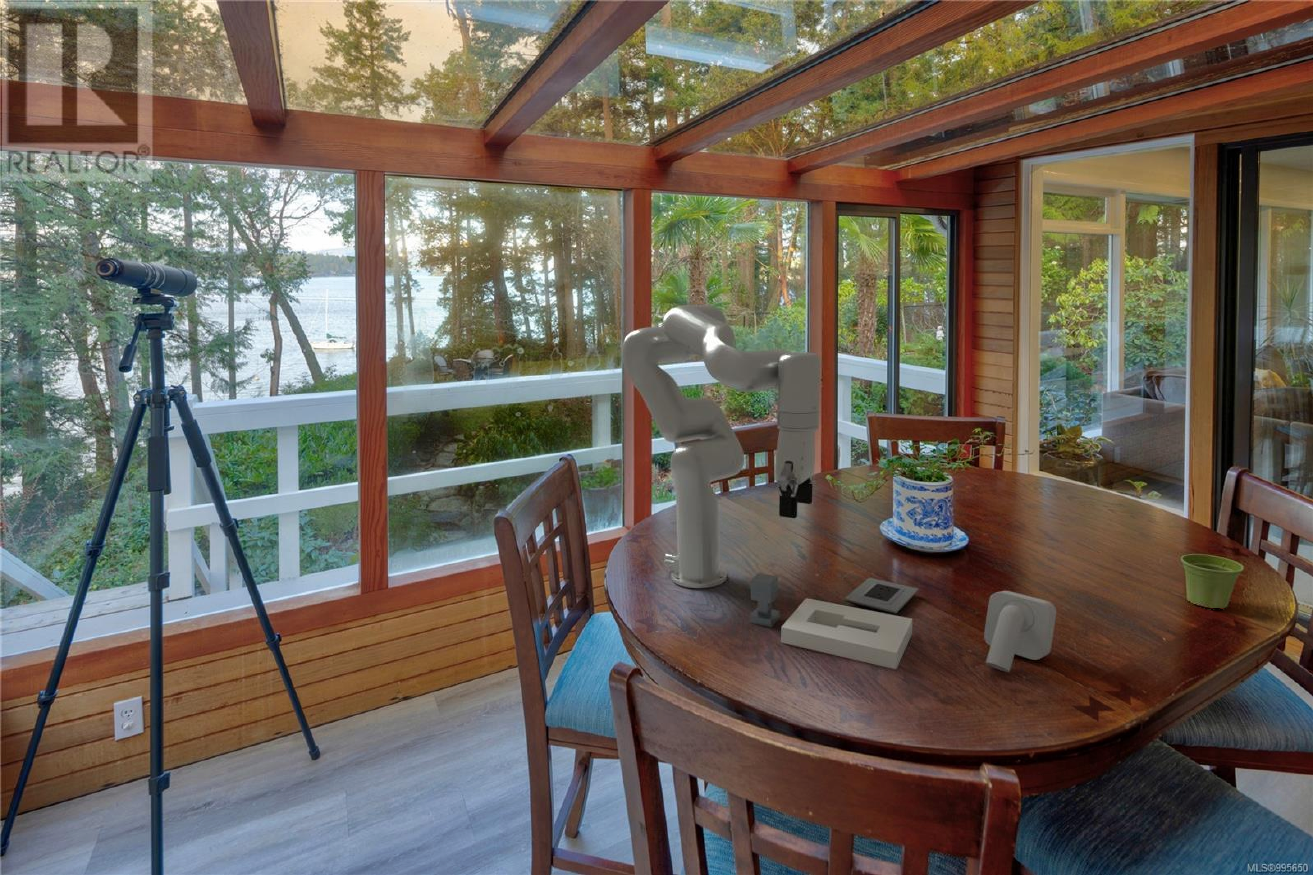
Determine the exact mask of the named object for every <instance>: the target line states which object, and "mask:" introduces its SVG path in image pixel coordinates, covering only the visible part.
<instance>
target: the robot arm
mask: <svg viewBox="0 0 1313 875" xmlns="http://www.w3.org/2000/svg"><path fill="white" fill-rule="evenodd" d="M661 323H662V326H651V327H650V326H649V327H643V328H642V327H641V328H637V329H636V330H635V329H634V330H632V331H630V333H628V334H627V335H626V337H625V338H624V340H623V343H622V346H621V347H622V348H621V354H622V355H621V357H622V363H623V366H624V370H625V372H626V374H627V376H628V378H629V380H630V381H631V383H632V384H633V386H634V387H635V388H636V389H637V391H638V392H639V394H640V396H641V397H642V399H643V401H644V403H645V405H646V407H647V409H648V411H649V413H650V415H651V418H652V420H653V421H654V423H655V425H656V427H657V429H658V431H659V433H660V434H661V436H662V437H663V439H664V440H665V441H667V442H669V443H673V444H674V443H683V442H685V443H683V444H681V445H679V446H677V447H676V448H675V449H674V451H673V452H672V453H671V457H670V471H671V475H672V480H673V485H674V492H675V504H676V505H675V506H676V508H675V513H676V538H677V539H676V545H677V547H676V548H677V555H675V554H671V553H665V555H664V558H663V559H664V561H663V564H664V566H668V567H672V568H673V570H672V572H671V577H670V578H671V581H672V582H673V583H675V585H678V586H680V587H684V588H690V589H708V588H713V587H717V586H720V585H722V584H723V583H724V582H725V581H727V577H728V576H727V575H728V574H727V571H726V570H725V568H723V567H721V561H720V560H721V554H720V553H721V551H720V548H721V547H720V502H719V498H718V496H717V494H716V492H715V491H714V489H713V486H712V484H711V483H712V482H713V483H714V482H716V481H718V480H723V479H727V478H730V477H733V476H736V475H738V474H739V473H740V472H741V471H742V470H743V467H744V464H745V453H744V450H743V448H742V445H741V443H740V441H739V439H738V437H737V435H736V434H735V432H734V428H732V426H731V424H730V422H729V420H728V418H727V417H726V415H725V413H724V412H723V410H722V408H721V407H720V406H719V404H718V403H717V402H716V401H714V400H713V399H710V398H708V397H694V398H693V397H692V398H688V397H686V396H685V395H684V393H683V392H682V391H681V389H680V387H679V385H678V383H677V382H676V379H674V378H673V377H672V376H671V374H669V373H668V372H667V371H665V370H664V369H662V368H661V367H660V366H659V365H661V364H662V365H663V364H674V363H682V362H683V363H684V362H687V361H690V360H692V359H694V358H695V357H696V356H697V357H699V358H701V359H702V360H703V363H704V365H705V368H706V370H707V372H708V373H709V375H710V376H711V377H712V378H713V379H714V380H715V381H717V382H719V383H721V384H723V385H724V386H726V387H728V388H730V389H732V390H734V391H736V392H740V393H741V392H742V393H754V392H760V391H769V390H777V410H776V411H777V414H776V416H777V417H776V418H777V419H776V420H777V421H776V422H777V423H776V428H777V429H778V430H779V431H778V438H777V446H776V456H775V471H774V472H775V473H774V474H775V476H774V479H775V481H776V482H777V483H779V486H778V489H779V490H778V491H779V492H778V493H779V498H778V499H779V500H778V501H779V502H778V503H779V506H778V508H779V509H778V514H779V517H781V518H789V519H796V518H797V517H798V504H806V505H811V504H812V503H813V486H814V485H813V480H814V478H813V474H814V473H815V472H814V471H815V463H816V460H815V459H816V440H815V438H816V436H815V431H817V430H819V429H820V403H821V402H820V401H821V400H820V397H821V396H820V395H821V394H820V393H821V358H820V356H819V355H818V354H817V353H814V352H808V351H807V352H801V351H800V352H798V351H797V352H792V351H787V350H784V349H766V350H763V349H762V350H749V351H743V350H740V349H738V348H735V347H734V345H735V333H734V330H733V328H732V327H731V326H730V325H728V324H727V319H726V316H725V315H724V313H723V311H721V309H720V308H718V307H716V306H715V305H714V306H713V305H711V304H684V305H683V304H682V305H677V306H675V307H673V308H671V309H670V310H668V311H667V312H666V313H665V315H664V317H663V319H662V322H661Z"/></svg>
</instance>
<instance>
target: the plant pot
mask: <svg viewBox="0 0 1313 875" xmlns="http://www.w3.org/2000/svg"><path fill="white" fill-rule="evenodd" d="M1180 561H1181V562H1182V564H1183V569H1184V575H1185V587H1186V588H1185V589H1186V601H1187V600H1188V601H1187V602H1189V601H1190V603H1191V604H1192V603H1193V604H1197V605H1201V606H1204V607H1209V608H1225V607H1227V608H1228V606H1229V602H1230V600H1231V596H1232V593H1233V590H1234V587H1235V584H1236V582H1237V579H1238V578H1239V576H1240V574H1241V573H1242V572H1244V570H1245V566H1244V565H1243V564H1242V563H1240V562H1238V561H1235V560H1232V559H1229V558H1226V557H1222V556H1217V555H1211V554H1203V553H1189V554H1183V555H1182V556H1181V557H1180ZM1193 604H1192V605H1193Z"/></svg>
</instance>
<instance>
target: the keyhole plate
mask: <svg viewBox="0 0 1313 875" xmlns="http://www.w3.org/2000/svg"><path fill="white" fill-rule="evenodd" d="M780 631H781V634H780V639H781V640H780V642H781V643H782V644H785V645H786V644H787V645H790V646H795V647H799V648H801V649H802V648H804V649H808V650H810V651H811V650H812V651H816V652H820V653H824V654H830V655H831V656H832V655H833V656H836V657H837V656H838V657H842V658H844V659H845V658H846V659H850V660H855V661H858V662H863V663H868V664H872V665H875V666H878V667H879V666H880V667H884V668H888V669H892V670H897V668H898V667H899V664H900V661H901V659H902V657H903V655H904V652H905V650H906V648H907V646H908V644H909V642H910V639H911V637H912V635H913V618H911V617H910V618H909V617H905V616H899V615H896V614H891V613H886V612H881V611H880V612H878V611H874V610H869V609H865V608H864V609H863V608H859V607H854V606H848V605H842V604H837V603H833V602H828V601H823V600H818V599H812V598H807V597H806V598H805V599H803V601H802V603H801V604H799V606H798V607H797V608H796V609H795V610H794V611H793V613H791V615H790V617H788V619H786V621H785V622H784V623H783V624H782V626H781V630H780Z"/></svg>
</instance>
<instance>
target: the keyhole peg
mask: <svg viewBox="0 0 1313 875" xmlns="http://www.w3.org/2000/svg"><path fill="white" fill-rule="evenodd" d="M778 596H779V576H778V575H772V574H767V573H763V572H762V573H761V572H758V573H757V574H755V576H753V577H752V578H751V579H750V600H751V601H756V602H757V607H756V608H755V609H754V610H753V611H752V612H751V613H750V614H749V623H750V624H754V625H759V626H763V627H768V628H772V627H773V626H774V624H776V623H777V621H778V620H780V610H775V609H772V603H773V602H774V601H775V600H776V599H777V598H778Z"/></svg>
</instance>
